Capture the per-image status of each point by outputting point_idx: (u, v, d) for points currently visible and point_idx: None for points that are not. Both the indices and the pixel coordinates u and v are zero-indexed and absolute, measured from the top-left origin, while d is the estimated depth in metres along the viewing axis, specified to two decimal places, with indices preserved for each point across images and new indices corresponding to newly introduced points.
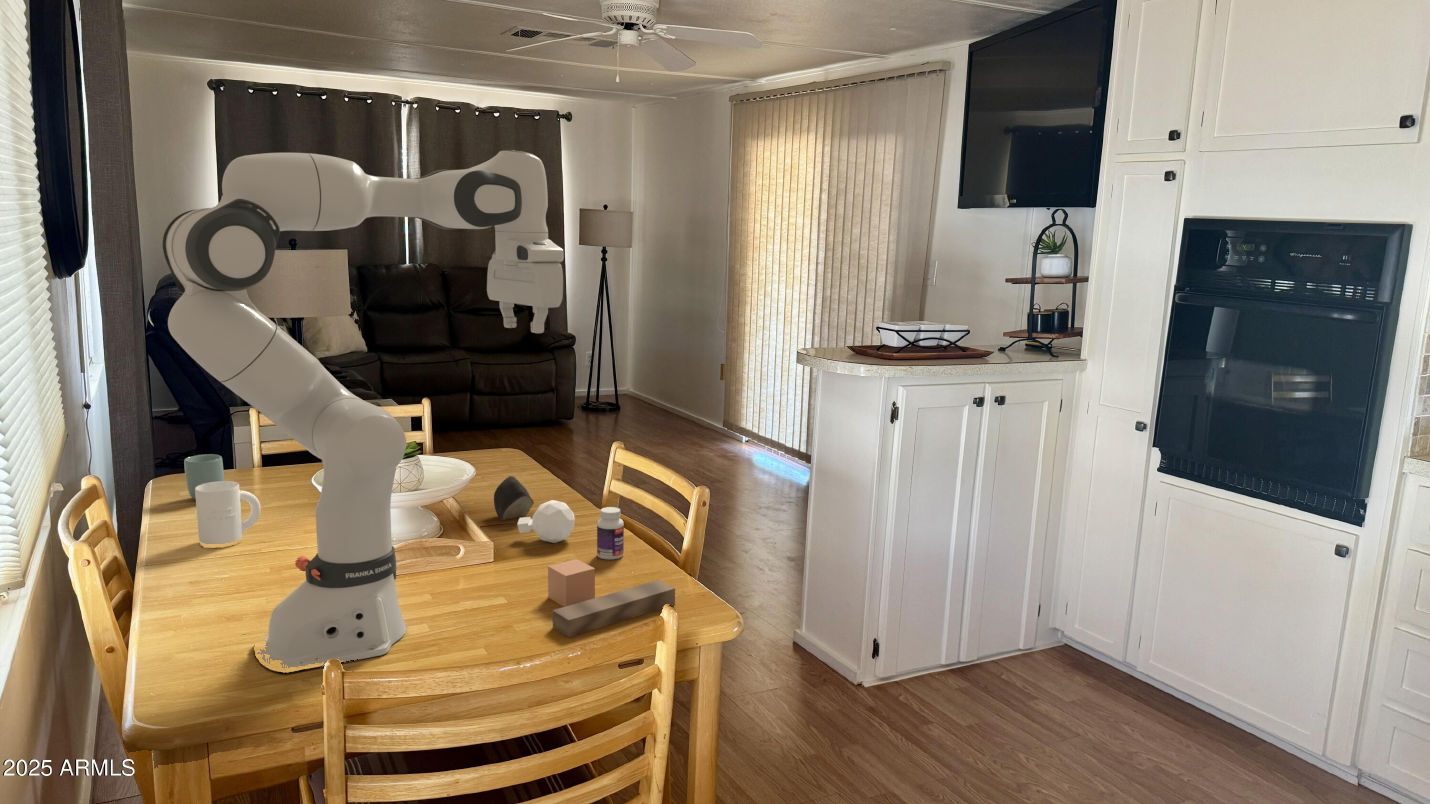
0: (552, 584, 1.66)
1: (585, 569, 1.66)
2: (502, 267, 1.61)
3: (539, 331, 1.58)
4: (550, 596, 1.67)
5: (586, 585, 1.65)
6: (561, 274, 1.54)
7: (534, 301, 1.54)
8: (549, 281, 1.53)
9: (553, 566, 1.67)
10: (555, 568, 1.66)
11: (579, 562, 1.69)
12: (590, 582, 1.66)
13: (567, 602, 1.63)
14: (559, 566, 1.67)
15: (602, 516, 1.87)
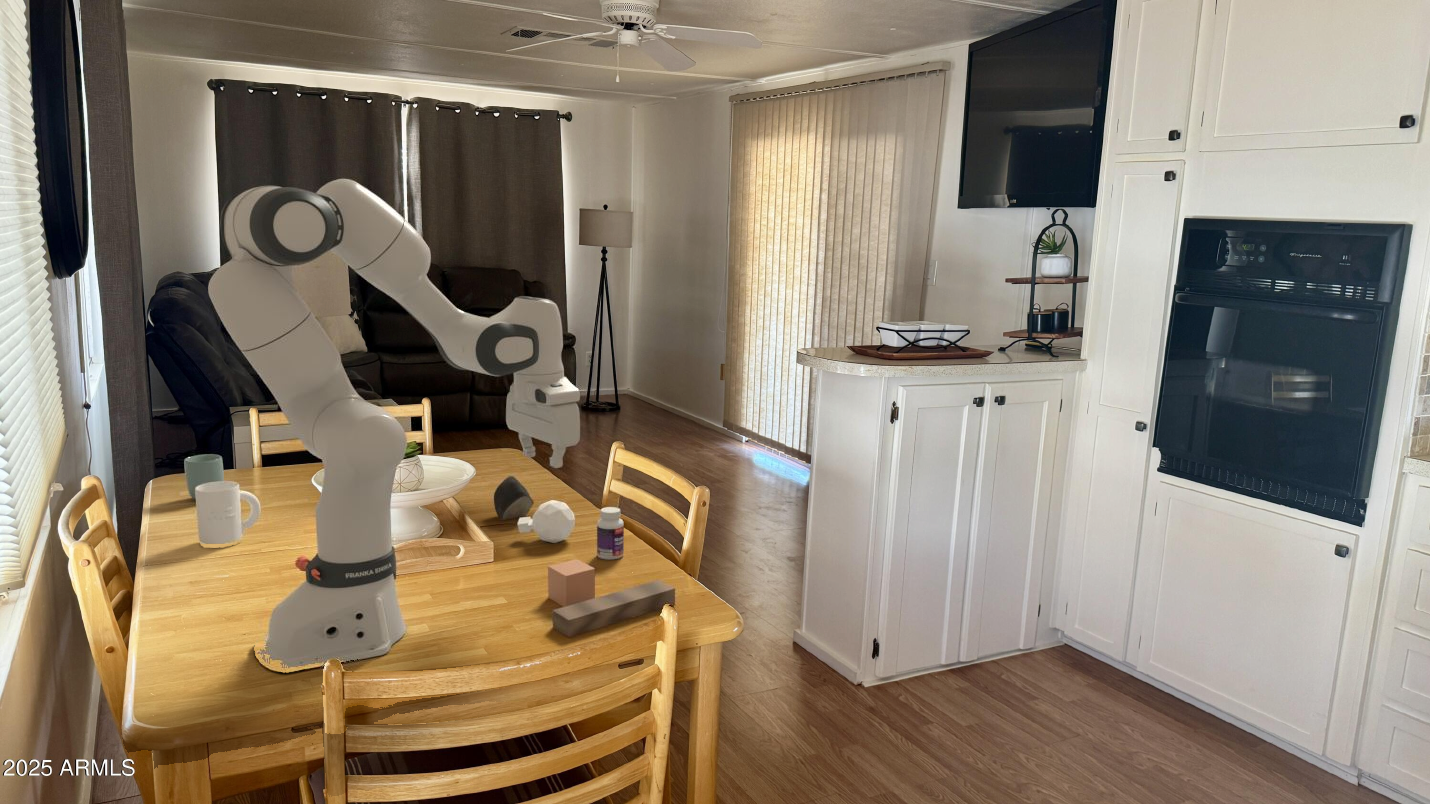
0: (552, 584, 1.66)
1: (585, 569, 1.66)
2: (520, 402, 1.69)
3: (558, 466, 1.65)
4: (550, 596, 1.67)
5: (586, 585, 1.65)
6: (578, 414, 1.62)
7: (553, 440, 1.62)
8: (567, 423, 1.60)
9: (553, 566, 1.67)
10: (555, 568, 1.66)
11: (579, 562, 1.69)
12: (590, 583, 1.66)
13: (567, 602, 1.63)
14: (559, 566, 1.67)
15: (602, 516, 1.87)
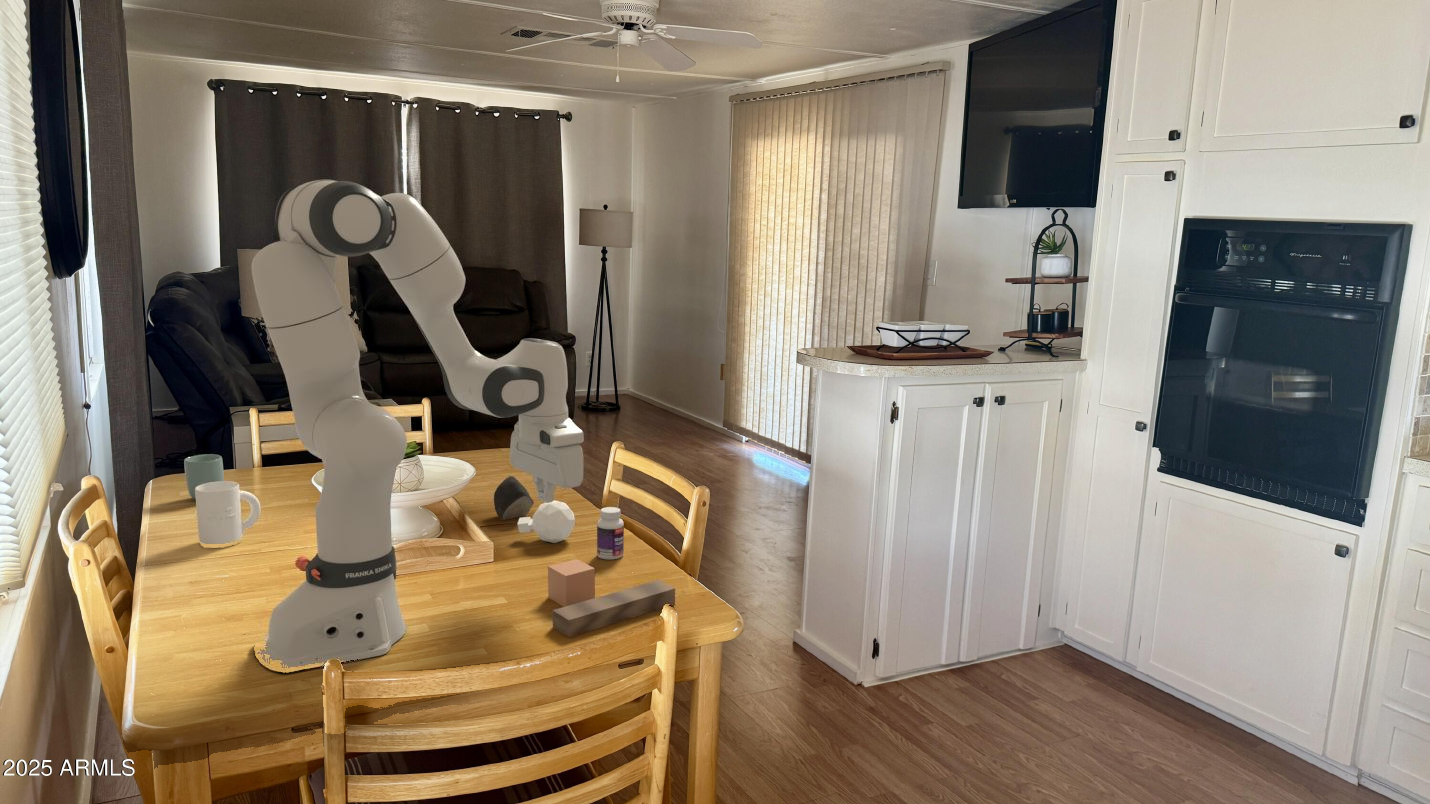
0: (552, 584, 1.66)
1: (585, 569, 1.66)
2: (525, 442, 1.71)
3: (549, 500, 1.70)
4: (550, 596, 1.67)
5: (586, 585, 1.65)
6: (581, 456, 1.64)
7: (556, 481, 1.64)
8: (571, 464, 1.62)
9: (553, 566, 1.67)
10: (555, 568, 1.66)
11: (579, 562, 1.69)
12: (590, 582, 1.66)
13: (567, 602, 1.63)
14: (559, 566, 1.67)
15: (602, 516, 1.87)
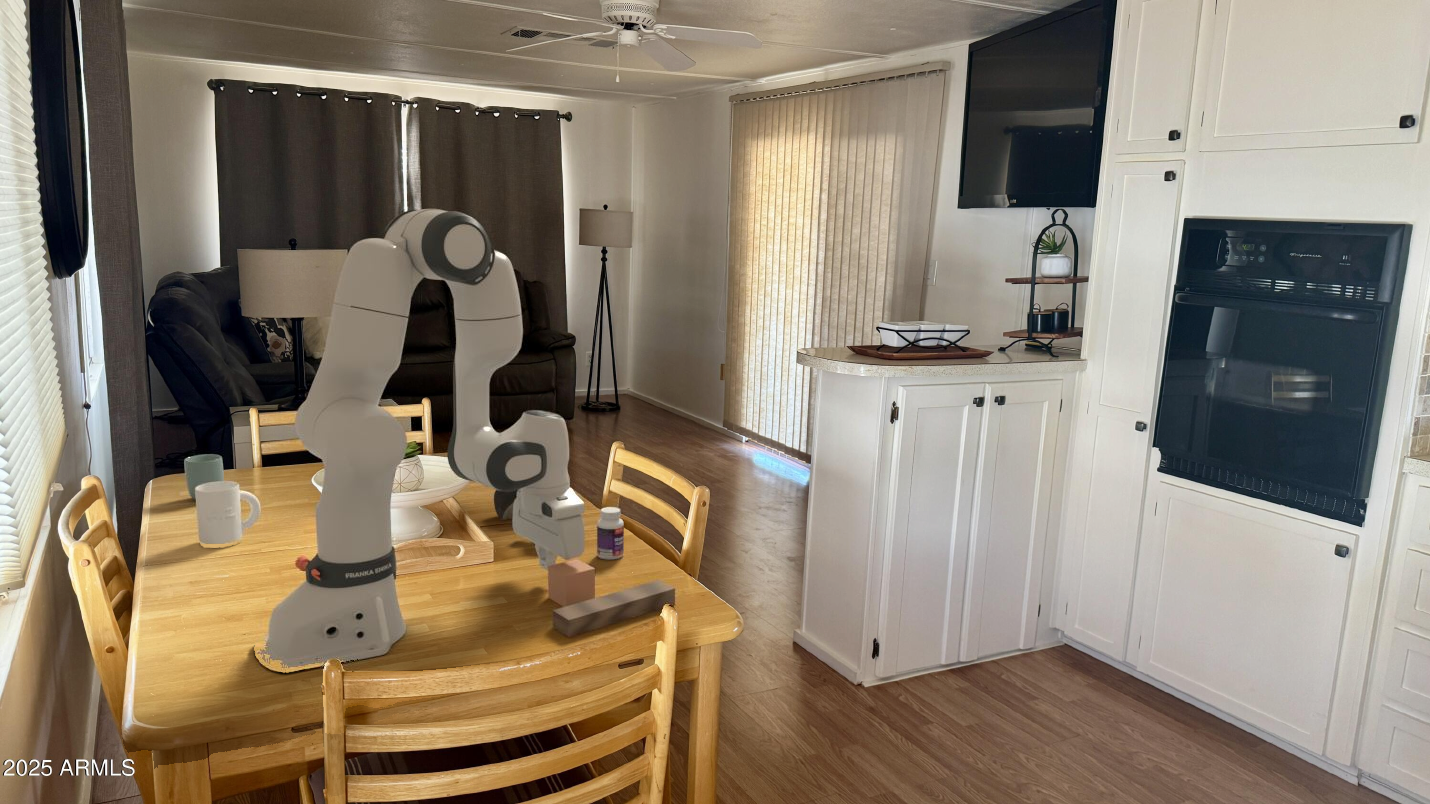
0: (552, 584, 1.66)
1: (585, 569, 1.66)
2: (527, 510, 1.73)
3: None
4: (550, 596, 1.67)
5: (586, 585, 1.65)
6: (583, 527, 1.66)
7: (558, 552, 1.66)
8: (572, 536, 1.65)
9: (553, 566, 1.67)
10: (555, 568, 1.66)
11: (579, 562, 1.69)
12: (590, 582, 1.66)
13: (567, 602, 1.63)
14: (559, 566, 1.67)
15: (602, 516, 1.87)
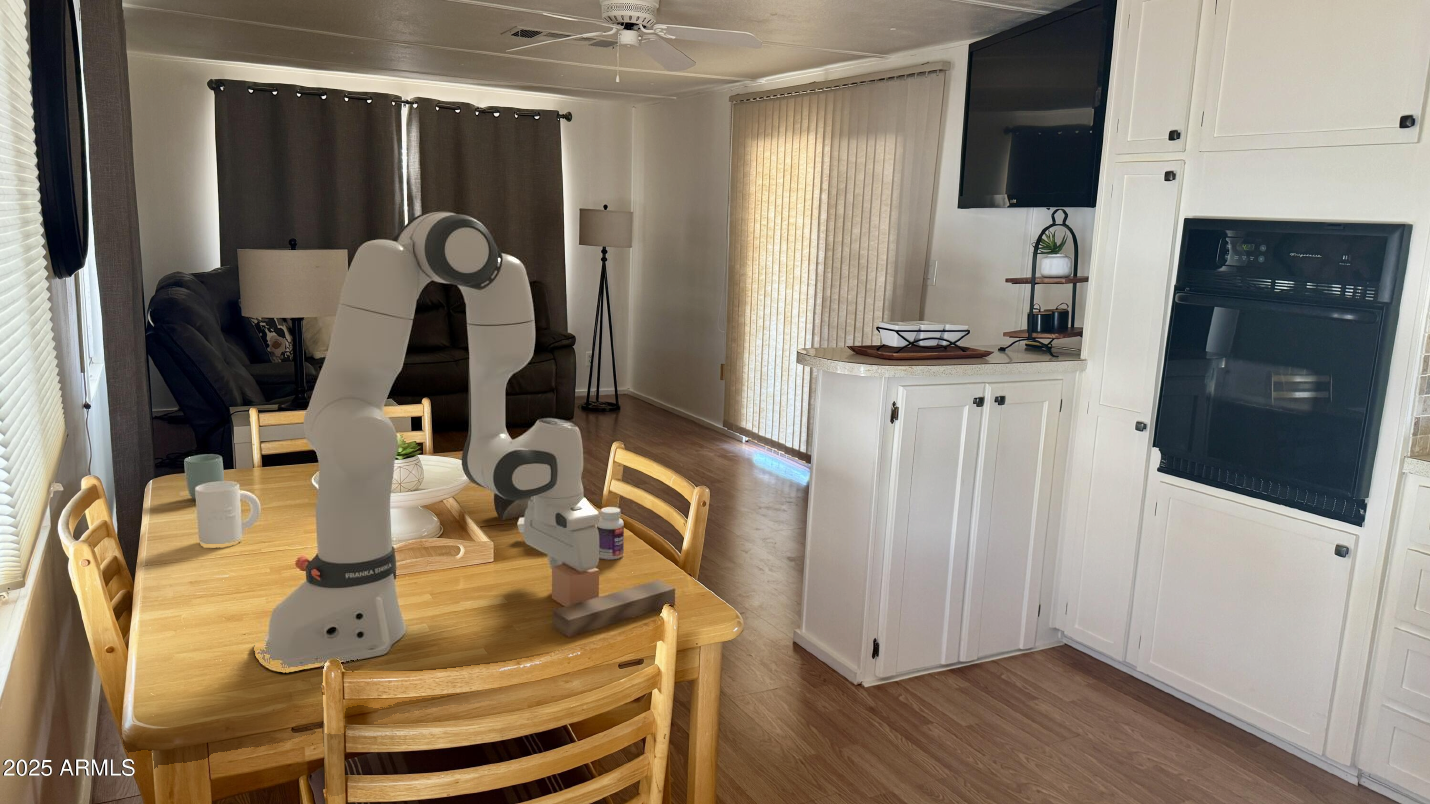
0: (556, 585, 1.65)
1: (589, 570, 1.65)
2: (539, 520, 1.70)
3: None
4: (554, 596, 1.66)
5: (590, 587, 1.65)
6: (597, 538, 1.63)
7: (572, 563, 1.63)
8: (587, 547, 1.61)
9: (557, 567, 1.66)
10: (559, 568, 1.65)
11: None
12: (594, 584, 1.65)
13: (571, 604, 1.63)
14: (563, 567, 1.66)
15: (602, 516, 1.87)
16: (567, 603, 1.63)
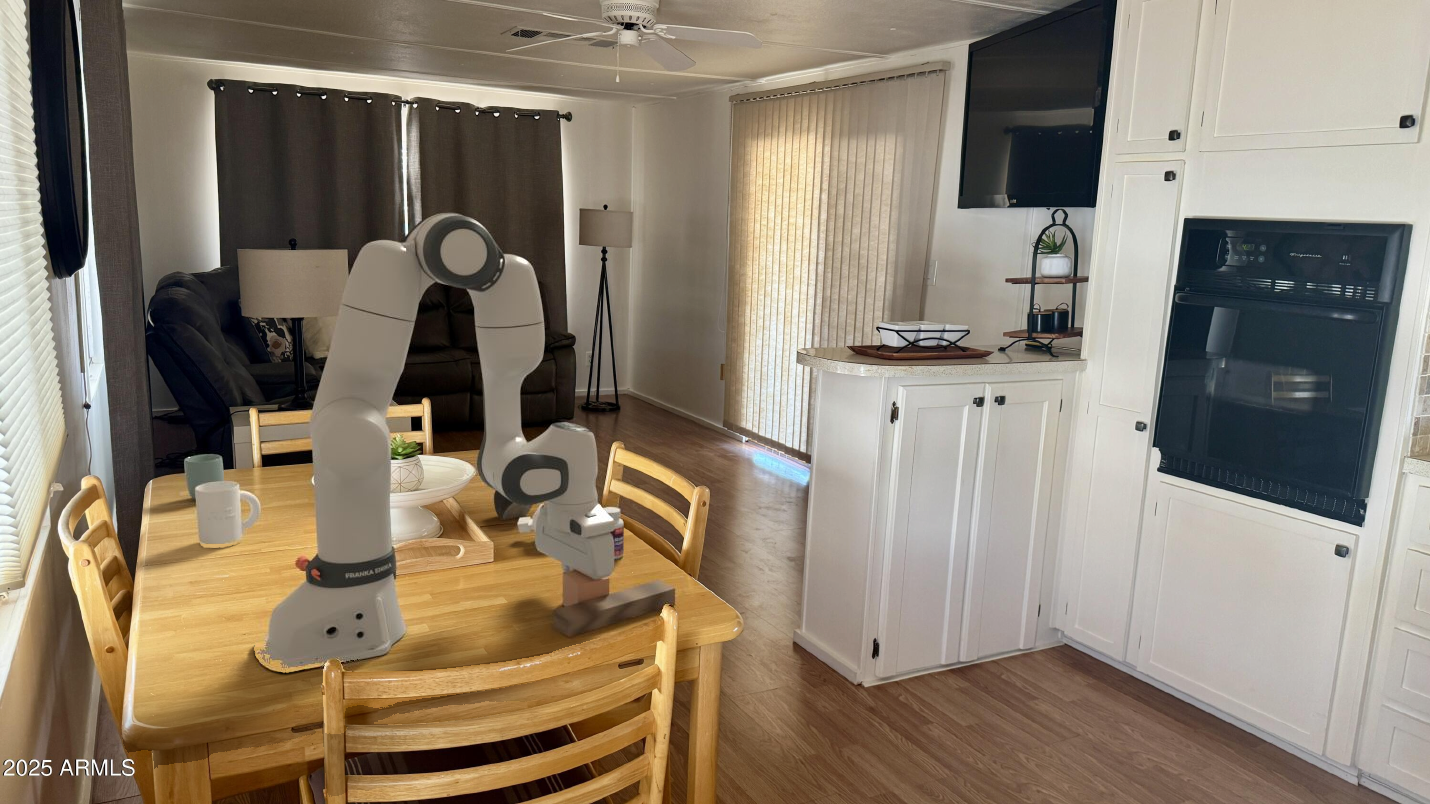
0: (566, 591, 1.63)
1: None
2: (552, 527, 1.66)
3: None
4: (564, 602, 1.64)
5: (599, 595, 1.61)
6: (613, 545, 1.59)
7: (586, 571, 1.60)
8: (602, 555, 1.58)
9: (568, 573, 1.63)
10: (569, 575, 1.62)
11: None
12: (604, 592, 1.62)
13: None
14: (574, 573, 1.63)
15: None
16: None
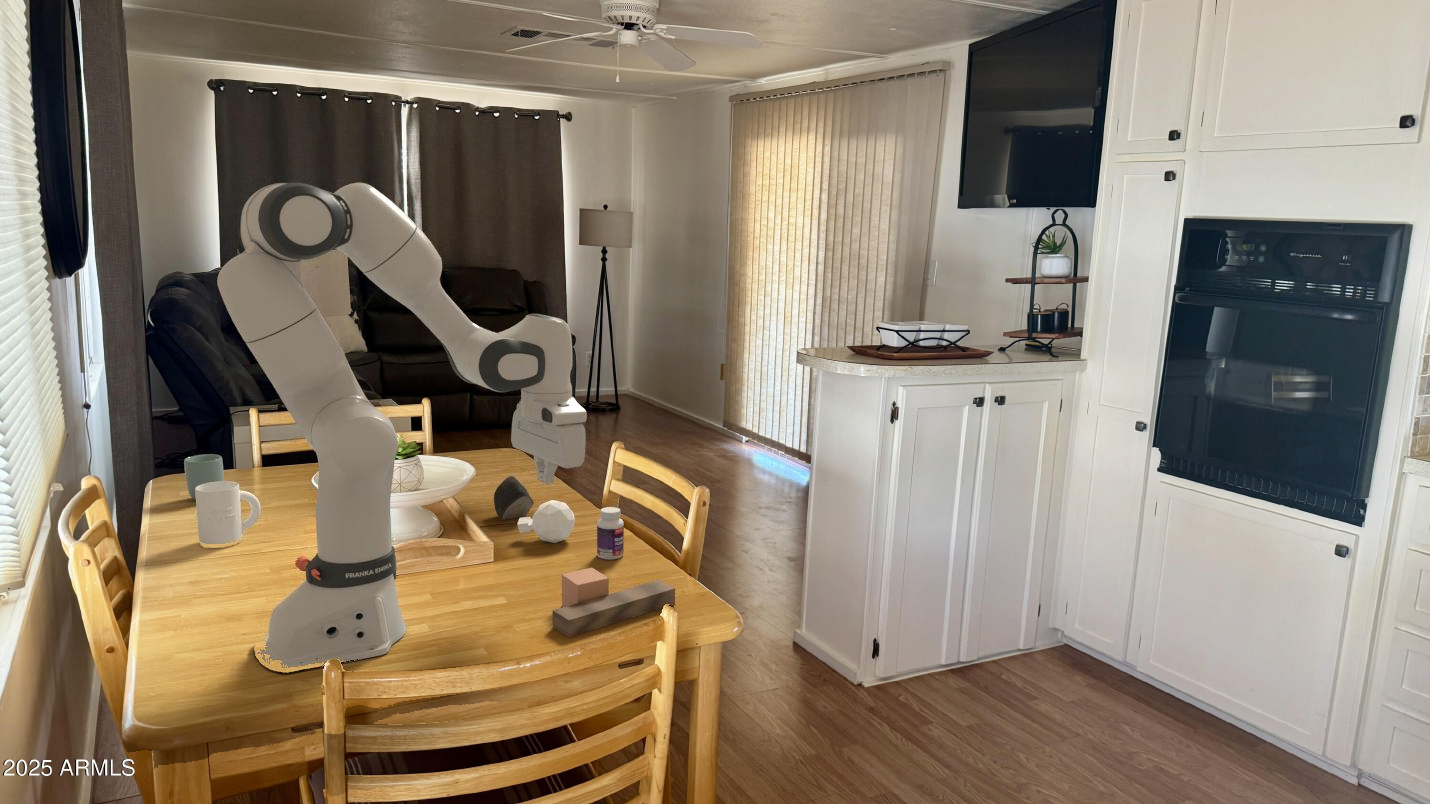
0: (565, 593, 1.63)
1: (598, 578, 1.61)
2: (527, 421, 1.67)
3: (549, 481, 1.66)
4: (563, 605, 1.64)
5: (599, 595, 1.61)
6: (584, 435, 1.60)
7: (557, 461, 1.60)
8: (572, 443, 1.58)
9: (567, 574, 1.63)
10: (568, 576, 1.62)
11: (593, 571, 1.65)
12: (604, 592, 1.62)
13: None
14: (573, 575, 1.63)
15: (602, 516, 1.87)
16: None
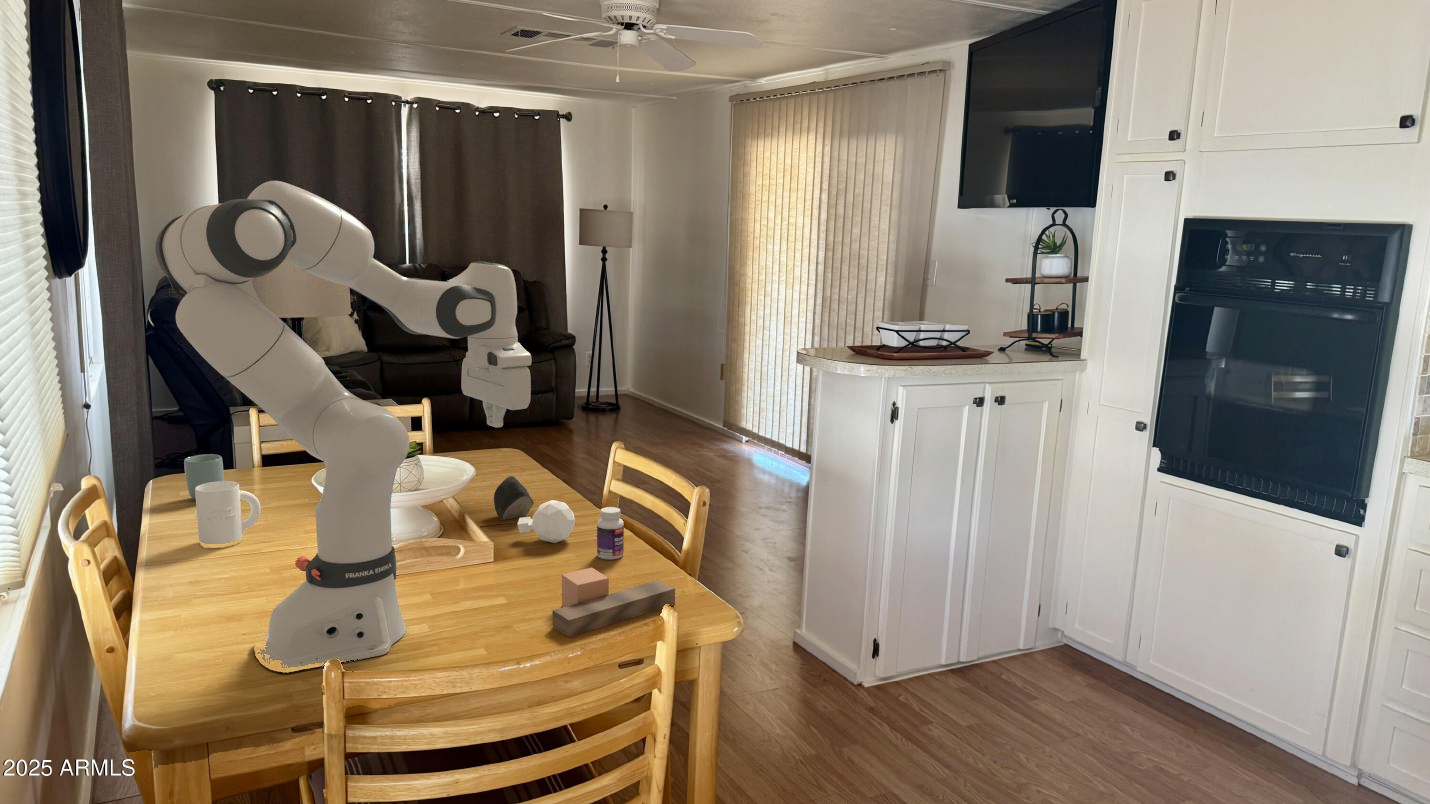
0: (565, 593, 1.63)
1: (598, 578, 1.61)
2: (475, 367, 1.72)
3: (498, 425, 1.71)
4: (563, 605, 1.64)
5: (599, 595, 1.61)
6: (529, 378, 1.65)
7: (504, 403, 1.65)
8: (517, 385, 1.63)
9: (567, 574, 1.63)
10: (568, 576, 1.62)
11: (593, 571, 1.65)
12: (604, 592, 1.62)
13: None
14: (573, 575, 1.63)
15: (602, 516, 1.87)
16: None
